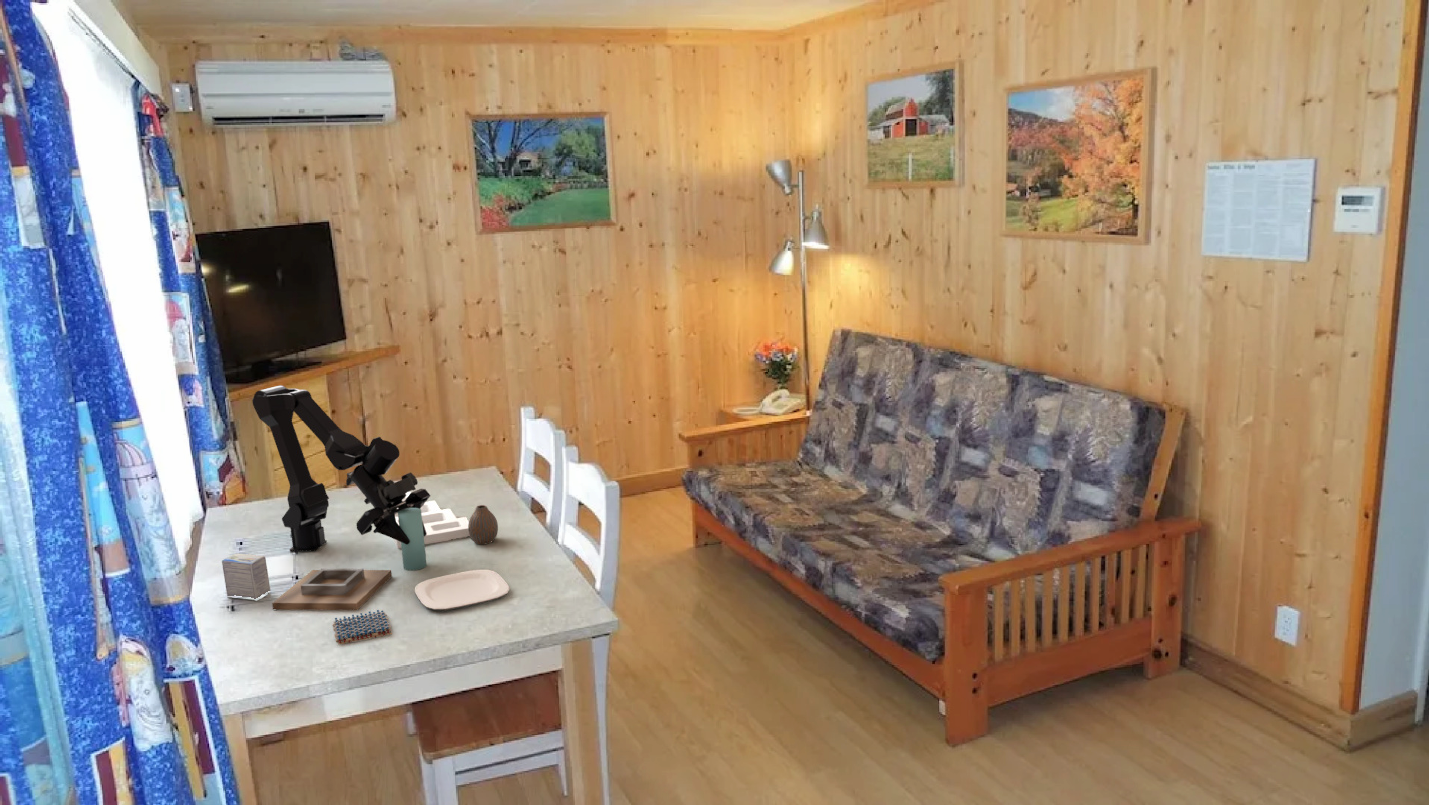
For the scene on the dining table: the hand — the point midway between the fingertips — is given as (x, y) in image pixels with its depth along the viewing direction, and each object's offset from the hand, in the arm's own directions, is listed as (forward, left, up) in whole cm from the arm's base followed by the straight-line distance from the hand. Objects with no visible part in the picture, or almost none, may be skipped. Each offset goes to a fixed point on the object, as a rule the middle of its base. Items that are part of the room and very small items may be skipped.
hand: (417, 539), depth 235 cm
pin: (-1, +1, -7) cm, 7 cm away
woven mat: (+1, -32, -7) cm, 33 cm away
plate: (+15, -14, -7) cm, 22 cm away
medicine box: (-31, -16, -7) cm, 36 cm away
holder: (-13, +35, -7) cm, 39 cm away
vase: (+10, +17, -7) cm, 20 cm away
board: (-13, -14, -7) cm, 21 cm away
